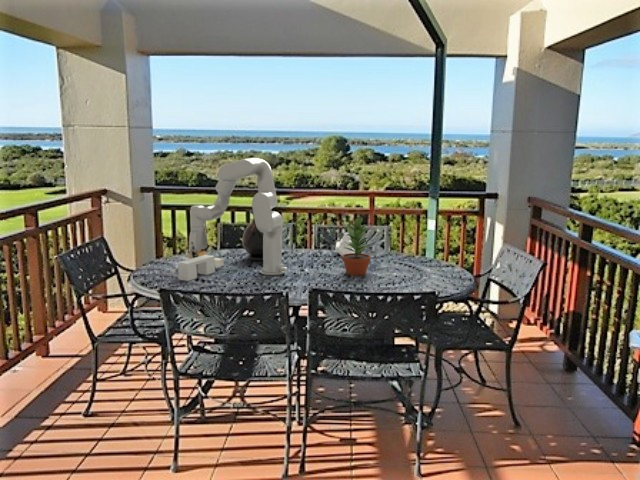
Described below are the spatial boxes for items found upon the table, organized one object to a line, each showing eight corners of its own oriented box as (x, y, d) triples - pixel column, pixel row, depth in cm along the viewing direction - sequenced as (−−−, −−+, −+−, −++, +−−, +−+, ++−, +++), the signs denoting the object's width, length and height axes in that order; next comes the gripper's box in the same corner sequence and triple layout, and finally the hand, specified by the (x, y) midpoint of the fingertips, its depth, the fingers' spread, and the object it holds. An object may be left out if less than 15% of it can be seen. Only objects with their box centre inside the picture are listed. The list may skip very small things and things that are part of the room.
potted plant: (362, 268, 289) (363, 212, 284) (374, 275, 276) (376, 217, 270) (336, 270, 284) (337, 214, 278) (348, 277, 270) (349, 218, 264)
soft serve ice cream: (354, 254, 332) (360, 232, 327) (352, 261, 317) (358, 239, 313) (334, 248, 332) (341, 226, 328) (331, 255, 318) (338, 233, 314)
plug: (224, 265, 286) (224, 254, 285) (218, 267, 281) (218, 255, 280) (196, 260, 295) (196, 249, 294) (189, 262, 291) (189, 251, 289)
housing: (214, 272, 277) (214, 256, 276) (188, 280, 260) (187, 263, 259) (205, 270, 280) (205, 254, 279) (178, 279, 263) (178, 262, 261)
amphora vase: (275, 263, 297) (275, 213, 292) (237, 262, 300) (236, 212, 295) (283, 255, 318) (283, 208, 312) (248, 253, 321) (248, 207, 316)
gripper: (203, 225, 297) (204, 257, 300) (181, 230, 282) (182, 264, 285) (214, 227, 293) (215, 259, 296) (192, 231, 278) (193, 265, 282)
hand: (199, 261), depth 291 cm, fingers closed on plug, 5 cm apart
